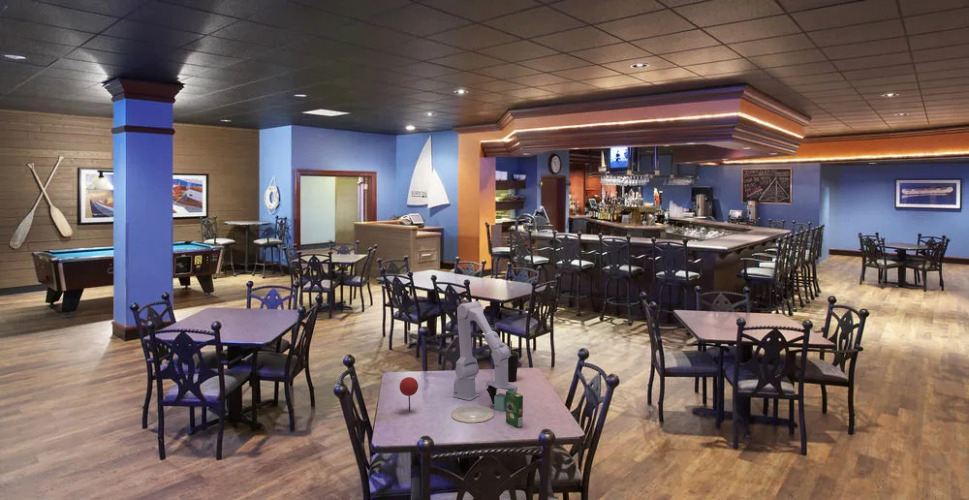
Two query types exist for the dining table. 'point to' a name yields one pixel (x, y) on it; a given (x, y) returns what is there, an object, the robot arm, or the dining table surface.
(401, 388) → the lollipop
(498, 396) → the teal block
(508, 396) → the coffee box
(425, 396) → the dining table surface
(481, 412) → the serving plate
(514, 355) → the drinking cup
